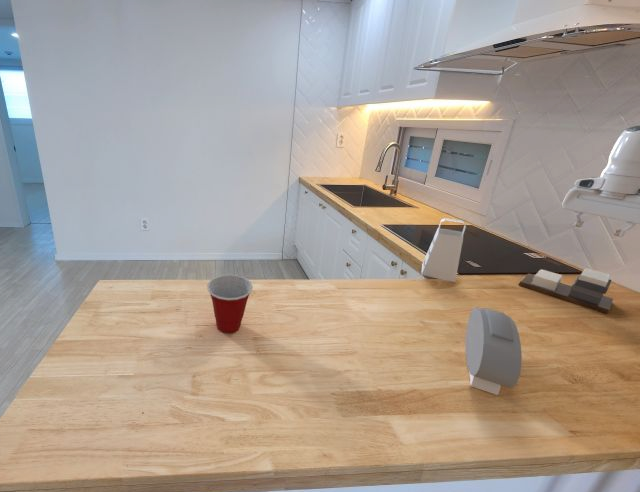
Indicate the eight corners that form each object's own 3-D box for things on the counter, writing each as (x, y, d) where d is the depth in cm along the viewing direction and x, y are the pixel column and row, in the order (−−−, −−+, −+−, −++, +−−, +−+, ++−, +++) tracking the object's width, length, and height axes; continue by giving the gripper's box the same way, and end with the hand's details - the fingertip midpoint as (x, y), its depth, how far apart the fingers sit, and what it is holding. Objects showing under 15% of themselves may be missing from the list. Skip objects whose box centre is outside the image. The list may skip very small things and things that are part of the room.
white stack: (559, 283, 116) (563, 275, 115) (554, 291, 110) (558, 282, 109) (537, 276, 120) (540, 268, 119) (530, 283, 115) (534, 275, 113)
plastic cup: (197, 332, 81) (198, 288, 76) (218, 311, 90) (220, 270, 86) (238, 346, 77) (241, 300, 72) (256, 322, 86) (259, 281, 82)
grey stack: (602, 296, 109) (611, 279, 107) (599, 305, 103) (608, 288, 100) (572, 287, 114) (580, 271, 112) (567, 295, 108) (575, 278, 106)
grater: (421, 264, 129) (436, 214, 121) (453, 271, 124) (470, 219, 117) (421, 274, 120) (437, 221, 112) (455, 282, 116) (473, 227, 108)
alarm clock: (505, 408, 64) (531, 354, 59) (468, 395, 67) (489, 342, 62) (490, 344, 83) (509, 299, 78) (461, 336, 86) (478, 292, 81)
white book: (608, 279, 107) (610, 274, 106) (605, 287, 101) (607, 282, 100) (583, 272, 111) (585, 267, 110) (578, 279, 105) (580, 274, 105)
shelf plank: (610, 302, 108) (613, 298, 108) (607, 314, 101) (609, 309, 100) (526, 276, 124) (528, 273, 123) (518, 285, 116) (519, 281, 116)
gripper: (677, 192, 88) (651, 241, 94) (579, 178, 105) (561, 221, 111) (668, 193, 86) (642, 243, 91) (569, 179, 103) (551, 222, 108)
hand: (597, 231), depth 101 cm, fingers open, 8 cm apart
